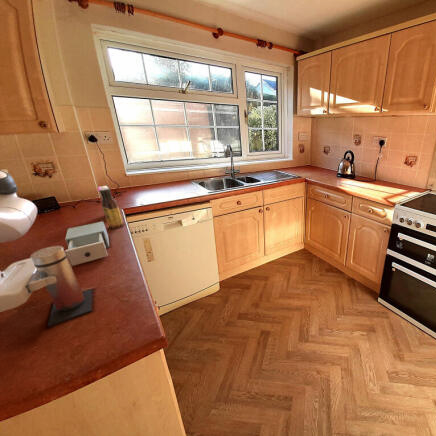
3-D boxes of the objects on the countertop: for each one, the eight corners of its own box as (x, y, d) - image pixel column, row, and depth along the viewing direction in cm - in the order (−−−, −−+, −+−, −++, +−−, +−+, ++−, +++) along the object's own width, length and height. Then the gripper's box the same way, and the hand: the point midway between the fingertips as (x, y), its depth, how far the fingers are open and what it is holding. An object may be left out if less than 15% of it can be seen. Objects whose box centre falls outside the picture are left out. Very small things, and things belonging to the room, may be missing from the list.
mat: (48, 327, 63) (47, 326, 63) (54, 302, 72) (53, 301, 72) (91, 311, 68) (91, 310, 68) (92, 289, 77) (91, 288, 77)
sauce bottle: (108, 226, 124) (95, 188, 117) (123, 223, 128) (111, 186, 120) (110, 230, 120) (96, 191, 112) (124, 226, 123) (112, 188, 116)
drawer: (108, 257, 94) (103, 243, 92) (71, 267, 88) (64, 252, 85) (107, 244, 104) (102, 231, 102) (73, 252, 98) (68, 239, 96)
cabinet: (109, 247, 103) (103, 230, 100) (72, 256, 97) (65, 239, 94) (108, 236, 113) (103, 221, 110) (74, 244, 106) (68, 228, 104)
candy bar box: (106, 214, 142) (96, 186, 135) (116, 212, 145) (107, 185, 138) (107, 219, 134) (97, 190, 127) (118, 217, 136) (109, 188, 130)
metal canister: (55, 314, 65) (27, 260, 59) (57, 302, 70) (32, 250, 64) (84, 304, 69) (61, 252, 63) (85, 293, 74) (64, 243, 67)
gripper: (12, 277, 69) (74, 263, 76) (-30, 325, 53) (53, 302, 59) (2, 257, 67) (66, 245, 73) (-46, 302, 50) (42, 281, 56)
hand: (60, 271), depth 66 cm, fingers closed on metal canister, 6 cm apart
